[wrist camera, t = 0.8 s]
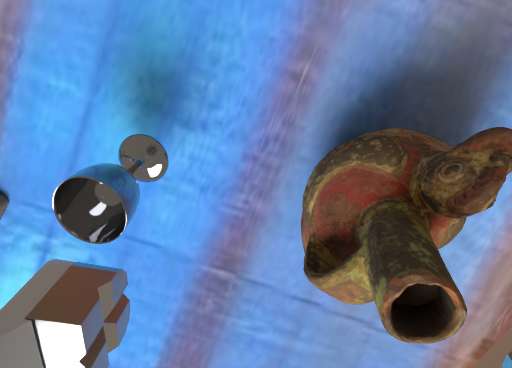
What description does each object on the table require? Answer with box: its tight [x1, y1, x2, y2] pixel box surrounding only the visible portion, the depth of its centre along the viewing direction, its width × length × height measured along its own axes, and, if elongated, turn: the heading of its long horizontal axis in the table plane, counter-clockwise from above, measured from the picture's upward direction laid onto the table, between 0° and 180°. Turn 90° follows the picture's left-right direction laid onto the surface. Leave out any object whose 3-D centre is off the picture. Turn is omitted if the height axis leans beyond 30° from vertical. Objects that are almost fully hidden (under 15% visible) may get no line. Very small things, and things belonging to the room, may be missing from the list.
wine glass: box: [52, 135, 168, 244], centre depth 46 cm, size 8×8×15 cm
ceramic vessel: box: [301, 127, 512, 343], centre depth 38 cm, size 17×26×25 cm, turn 142°
